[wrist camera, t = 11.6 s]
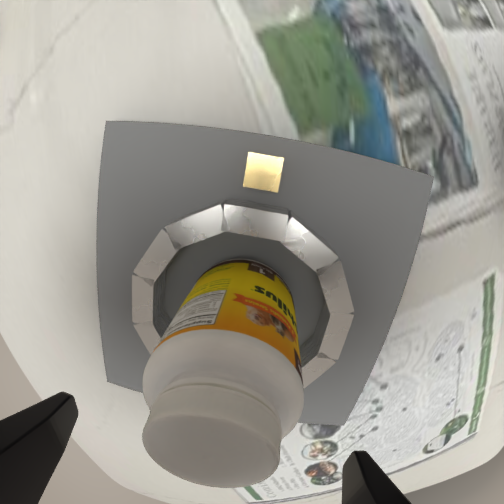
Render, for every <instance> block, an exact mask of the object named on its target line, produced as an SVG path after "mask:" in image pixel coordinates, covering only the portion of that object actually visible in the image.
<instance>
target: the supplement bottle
mask: <svg viewBox="0 0 504 504" xmlns="http://www.w3.org/2000/svg"><path fill="white" fill-rule="evenodd" d="M142 386H143V393H144V397H145V400H146V403H147V405H148V407H149V409H150V415H149V417H148V420H147V422H146V424H145V427H144V429H143V433H142V440H143V444H144V447H145V449H146V451H147V452H148V454H149V455H150V456H151V458H152V459H153V460H154V461H155V462H156V463H157V464H158V465H160V466H161V467H162V468H164V469H165V470H167V471H168V472H170V473H172V474H174V475H175V476H177V477H180V478H182V479H184V480H187V481H190V482H193V483H196V484H200V485H205V486H210V487H219V488H237V487H245V486H249V485H253V484H256V483H259V482H261V481H263V480H265V479H267V478H268V477H270V476H271V475H272V474H273V473H274V472H275V471H276V469H277V467H278V465H279V461H280V443H281V440H282V439H283V438H284V437H285V436H286V435H288V434H289V433H290V432H291V430H292V429H293V428H294V427H295V425H296V424H297V422H298V421H299V419H300V416H301V413H302V410H303V406H304V388H303V379H302V369H301V360H300V350H299V341H298V332H297V323H296V315H295V307H294V301H293V297H292V294H291V291H290V289H289V287H288V285H287V283H286V282H285V280H284V279H283V278H282V277H281V276H280V275H279V274H278V273H277V272H276V271H275V270H273V269H272V268H270V267H269V266H267V265H265V264H263V263H260V262H258V261H255V260H250V259H230V260H226V261H223V262H220V263H217V264H215V265H214V266H212V267H210V268H209V269H208V270H206V271H205V272H204V273H203V274H202V275H201V276H200V278H199V279H198V280H197V281H196V283H195V285H194V287H193V288H192V290H191V291H190V293H189V294H188V296H187V298H186V299H185V301H184V302H183V304H182V305H181V307H180V309H179V310H178V312H177V313H176V315H175V317H174V318H173V320H172V322H171V323H170V325H169V327H168V328H167V330H166V331H165V333H164V335H163V336H162V338H161V340H160V341H159V343H158V345H157V346H156V348H155V349H154V351H153V353H152V355H151V356H150V358H149V360H148V362H147V364H146V367H145V370H144V373H143V383H142Z"/></svg>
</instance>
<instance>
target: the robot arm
mask: <svg viewBox="0 0 504 504" xmlns="http://www.w3.org/2000/svg"><path fill="white" fill-rule="evenodd" d="M77 418H78V409H77V406H76V402H75V399H74V397H73V396H72V395H71V394H68V393H66V392H60V393H58V394H56V395H54V396H51V397H49V398H47V399H45V400H43V401H41V402H39V403H37V404H35V405H33V406H31V407H29V408H26V409H24V410H22V411H20V412H18V413H16V414H14V415H11V416H9V417H7V418H5V419H3V420H0V504H38V502H39V500H40V498H41V496H42V494H43V492H44V490H45V488H46V486H47V484H48V482H49V480H50V478H51V476H52V474H53V472H54V470H55V468H56V466H57V464H58V462H59V461H60V458H61V457H62V455H63V453H64V451H65V448H66V446H67V443H68V441H69V438H70V435H71V433H72V430H73V428H74V425H75V423H76V420H77ZM342 504H411V502H410V501H409V500H408V499H407V498H406V497H405V496H404V495H403V493H402V492H401V491H400V490H399V489H398V488H397V487H396V485H395V484H394V483H393V482H392V481H391V480H390V478H389V477H388V476H387V475H386V474H385V473H384V472H383V470H382V469H381V468H380V467H379V466H378V464H377V463H376V462H375V461H374V460H373V459H372V457H371V456H370V455H369V454H368V453H367V452H366V451H353V452H352V453H351V455H350V456H349V458H348V459H347V460H346V462H345V463H344V465H343V474H342Z"/></svg>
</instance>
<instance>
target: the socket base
mask: <svg viewBox="0 0 504 504" xmlns="http://www.w3.org/2000/svg"><path fill="white" fill-rule="evenodd" d="M433 178H434V176H431V175H428V174H425V173H421V172H418V171H415V170H412V169H409V168H406V167H402V166H399V165H396V164H392V163H389V162H385V161H382V160H378V159H375V158H371V157H367V156H363V155H359V154H356V153H352V152H347V151H343V150H339V149H335V148H330V147H326V146H321V145H317V144H312V143H307V142H302V141H297V140H292V139H287V138H281V137H275V136H269V135H263V134H257V133H250V132H244V131H236V130H229V129H221V128H212V127H203V126H193V125H182V124H170V123H154V122H133V121H106V125H105V132H104V139H103V147H102V156H101V165H100V176H99V189H98V207H97V288H98V305H99V318H100V329H101V339H102V347H103V355H104V363H105V370H106V376H107V382H110V383H113V384H116V385H119V386H122V387H125V388H128V389H131V390H135V391H138V392H141V393H143V386H142V383H143V373H144V370H145V367H146V364H147V362H148V360H149V358H150V356H151V355H152V353H153V351H154V349H155V348H156V346H157V345H158V343H159V341H160V340H161V338H162V336H163V335H164V333H165V331H166V330H167V328H168V327H169V325H170V323H171V322H172V320H173V318H174V317H175V315H176V313H177V312H178V310H179V309H180V307H181V305H182V304H183V302H184V301H185V299H186V298H187V296H188V294H189V293H190V291H191V290H192V288H193V287H194V285H195V283H196V281H197V280H198V279H199V278H200V276H201V275H202V274H203V273H204V272H205V271H206V270H208V269H209V268H210V267H212V266H214V265H215V264H217V263H220V262H223V261H226V260H230V259H250V260H255V261H258V262H260V263H263V264H265V265H267V266H269V267H270V268H272V269H273V270H275V271H276V272H277V273H278V274H279V275H280V276H281V277H282V278H283V279H284V280H285V282H286V283H287V285H288V287H289V289H290V291H291V294H292V297H293V301H294V307H295V315H296V323H297V332H298V341H299V350H300V360H301V369H302V379H303V388H304V406H303V410H302V413H301V416H300V419H299V421H298V423H310V424H325V425H344V424H345V423H346V421H347V419H348V417H349V415H350V413H351V412H352V410H353V408H354V406H355V404H356V402H357V400H358V398H359V396H360V394H361V392H362V390H363V388H364V386H365V384H366V382H367V380H368V378H369V375H370V373H371V371H372V369H373V367H374V365H375V362H376V360H377V358H378V355H379V353H380V351H381V349H382V346H383V344H384V341H385V339H386V337H387V334H388V332H389V329H390V327H391V324H392V321H393V319H394V316H395V313H396V311H397V308H398V305H399V303H400V300H401V297H402V294H403V291H404V288H405V285H406V282H407V279H408V276H409V273H410V270H411V266H412V263H413V260H414V256H415V253H416V250H417V246H418V242H419V239H420V235H421V231H422V227H423V223H424V219H425V215H426V211H427V207H428V202H429V198H430V193H431V188H432V183H433Z"/></svg>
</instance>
